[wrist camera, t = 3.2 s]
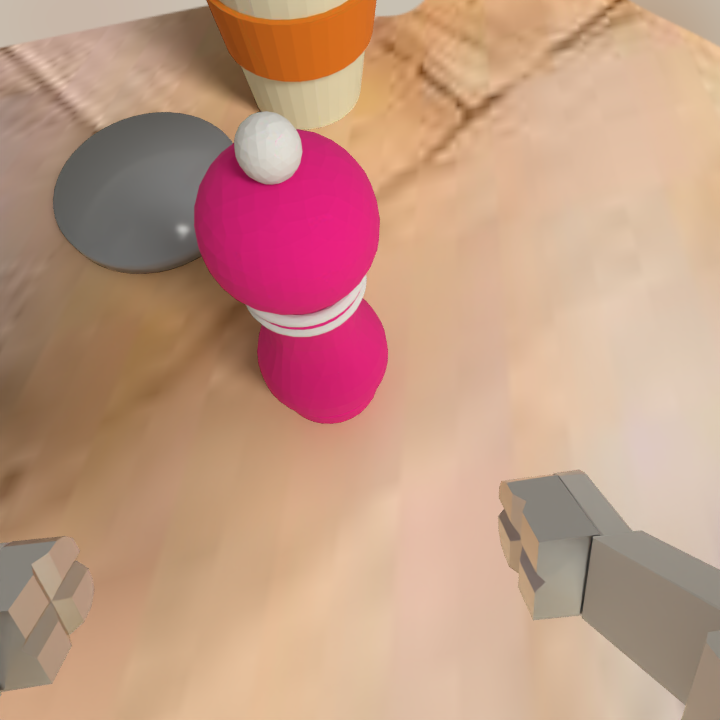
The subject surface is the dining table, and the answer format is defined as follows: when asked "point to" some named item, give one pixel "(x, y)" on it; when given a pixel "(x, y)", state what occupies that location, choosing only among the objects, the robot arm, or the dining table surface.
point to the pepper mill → (298, 262)
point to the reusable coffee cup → (299, 53)
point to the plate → (137, 191)
